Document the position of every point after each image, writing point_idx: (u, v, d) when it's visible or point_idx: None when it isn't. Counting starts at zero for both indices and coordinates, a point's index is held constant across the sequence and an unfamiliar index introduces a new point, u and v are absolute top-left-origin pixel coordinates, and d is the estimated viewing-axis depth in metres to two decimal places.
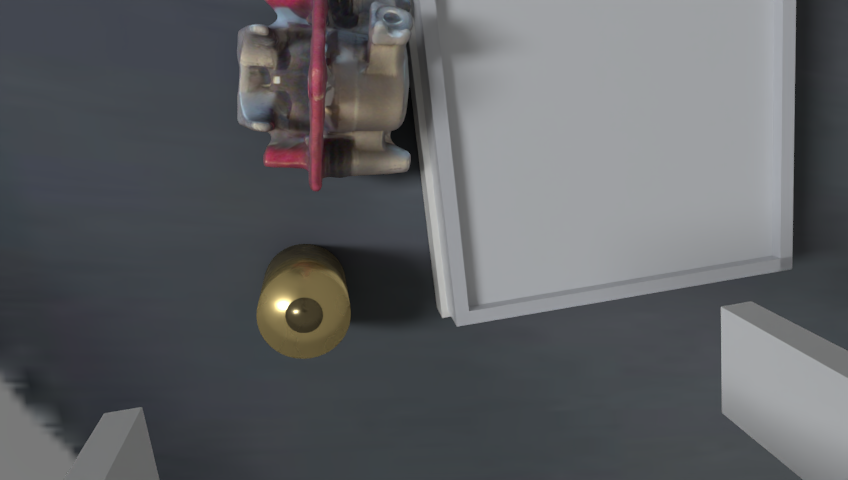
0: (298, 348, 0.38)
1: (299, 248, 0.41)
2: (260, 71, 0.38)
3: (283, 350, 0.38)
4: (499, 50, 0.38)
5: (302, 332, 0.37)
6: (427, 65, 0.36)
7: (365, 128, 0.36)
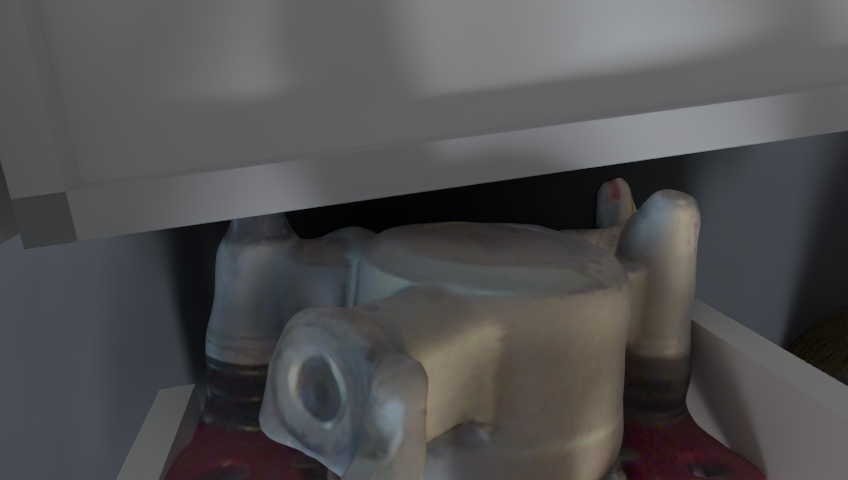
0: None
1: None
2: None
3: None
4: None
5: None
6: (428, 187, 0.12)
7: (624, 370, 0.12)
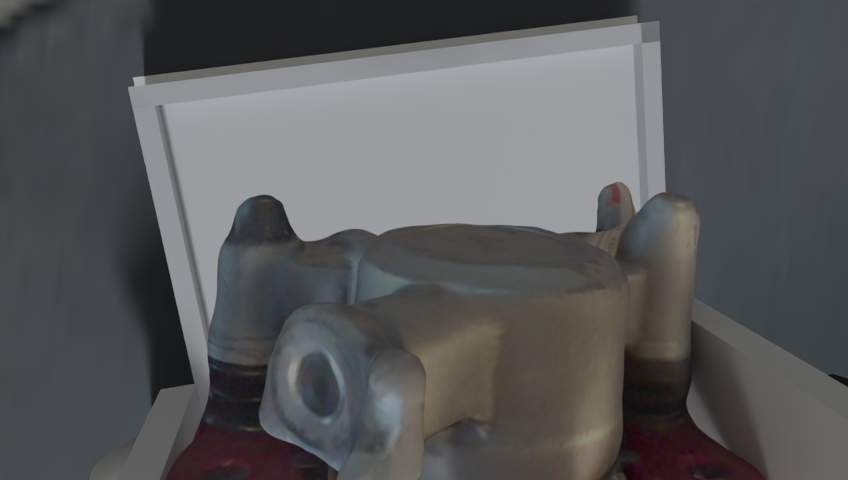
0: None
1: None
2: None
3: None
4: None
5: None
6: None
7: (623, 371, 0.12)
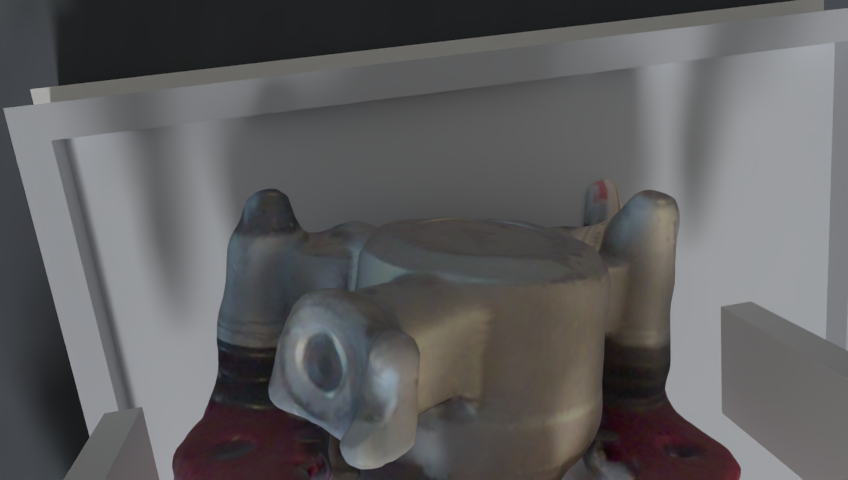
0: None
1: None
2: None
3: None
4: None
5: None
6: None
7: (604, 356, 0.13)
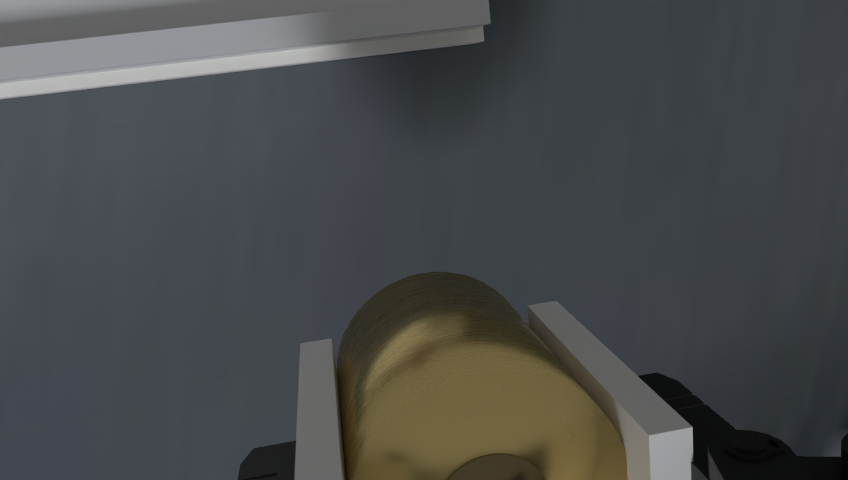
0: None
1: None
2: None
3: None
4: None
5: None
6: None
7: None
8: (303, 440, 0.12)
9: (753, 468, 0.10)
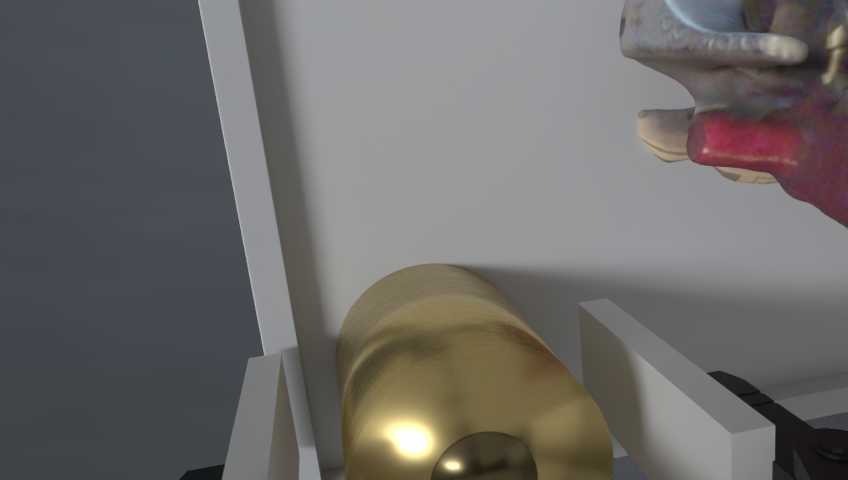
0: None
1: None
2: None
3: None
4: None
5: None
6: None
7: None
8: (232, 465, 0.12)
9: (841, 467, 0.10)
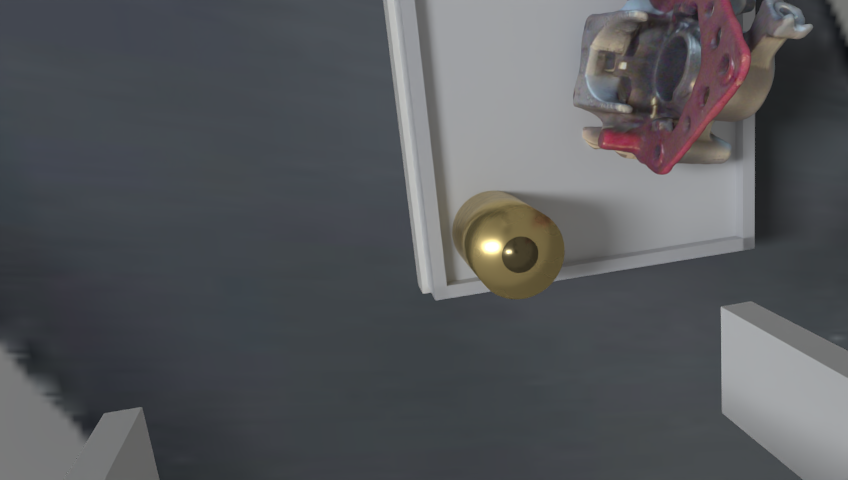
0: (553, 260, 0.37)
1: (455, 239, 0.41)
2: (606, 56, 0.39)
3: (553, 274, 0.38)
4: (475, 39, 0.40)
5: (537, 256, 0.37)
6: (406, 52, 0.39)
7: (718, 117, 0.37)
8: None
9: None
